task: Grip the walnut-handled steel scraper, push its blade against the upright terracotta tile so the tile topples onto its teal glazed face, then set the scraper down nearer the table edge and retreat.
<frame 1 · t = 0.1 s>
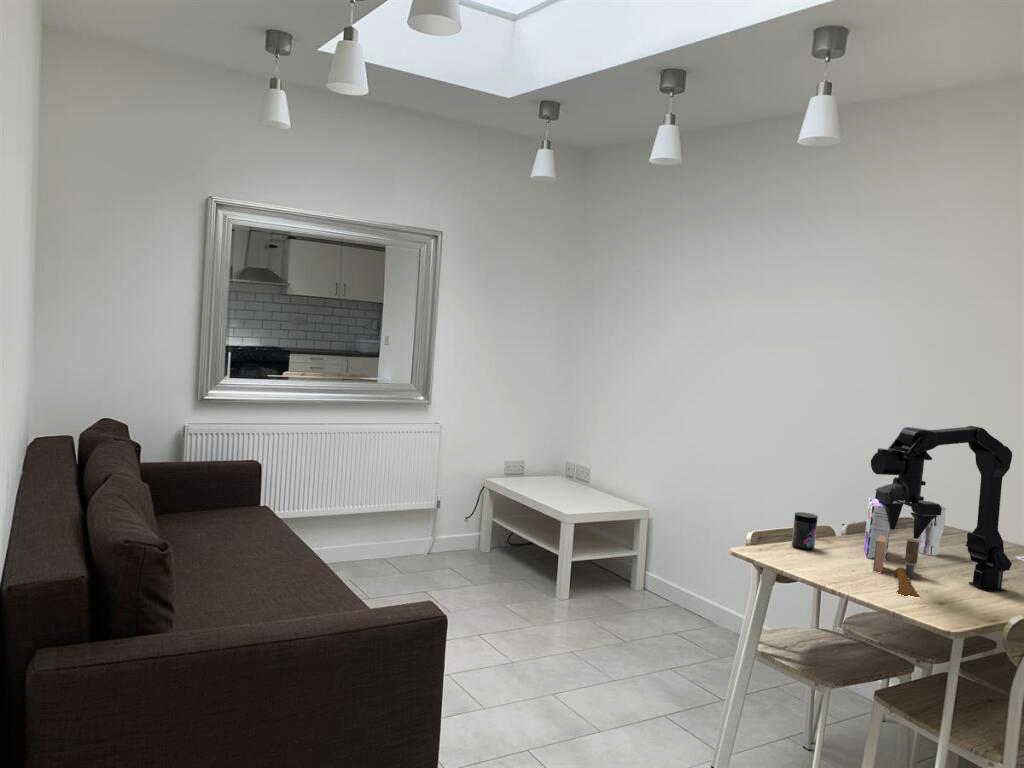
hand: (903, 533, 214), 15 cm above the table, fingers open, 9 cm apart
terracotta tile: (878, 569, 232), on the table
primitive tool: (906, 590, 216), on the table
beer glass: (928, 553, 255), on the table
candy box: (874, 555, 249), on the table
scraper: (909, 575, 228), on the table
supplement container: (802, 548, 250), on the table
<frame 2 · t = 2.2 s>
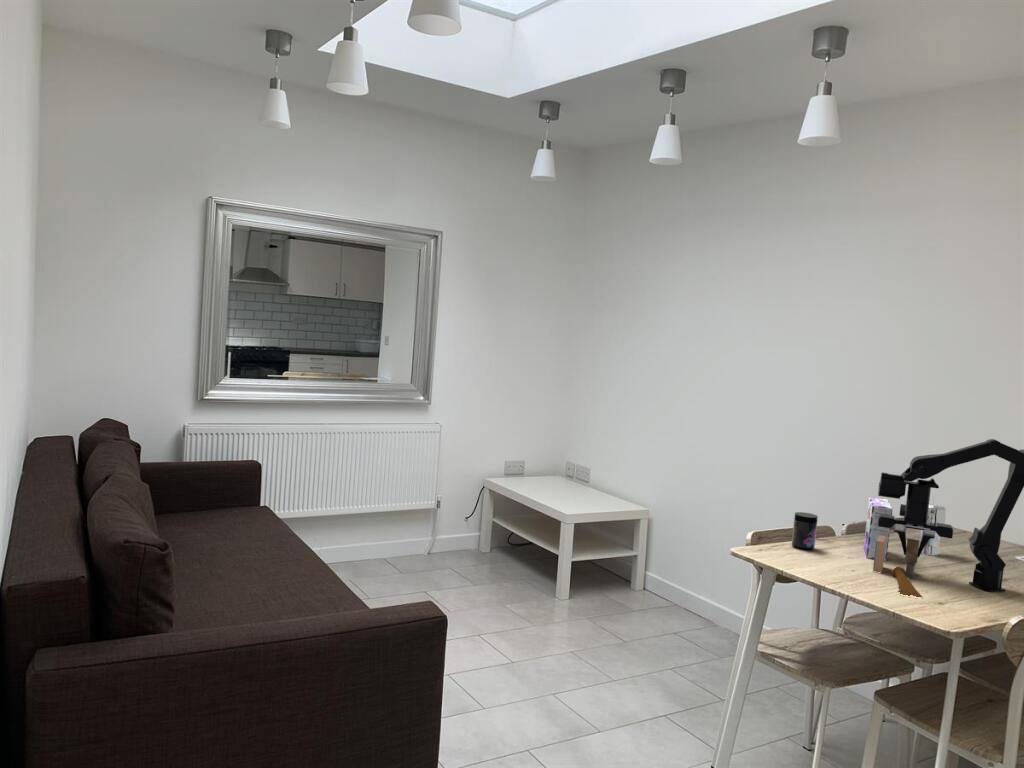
hand: (911, 555, 228), 6 cm above the table, fingers closed on scraper, 3 cm apart
scraper: (909, 575, 228), on the table, touching gripper
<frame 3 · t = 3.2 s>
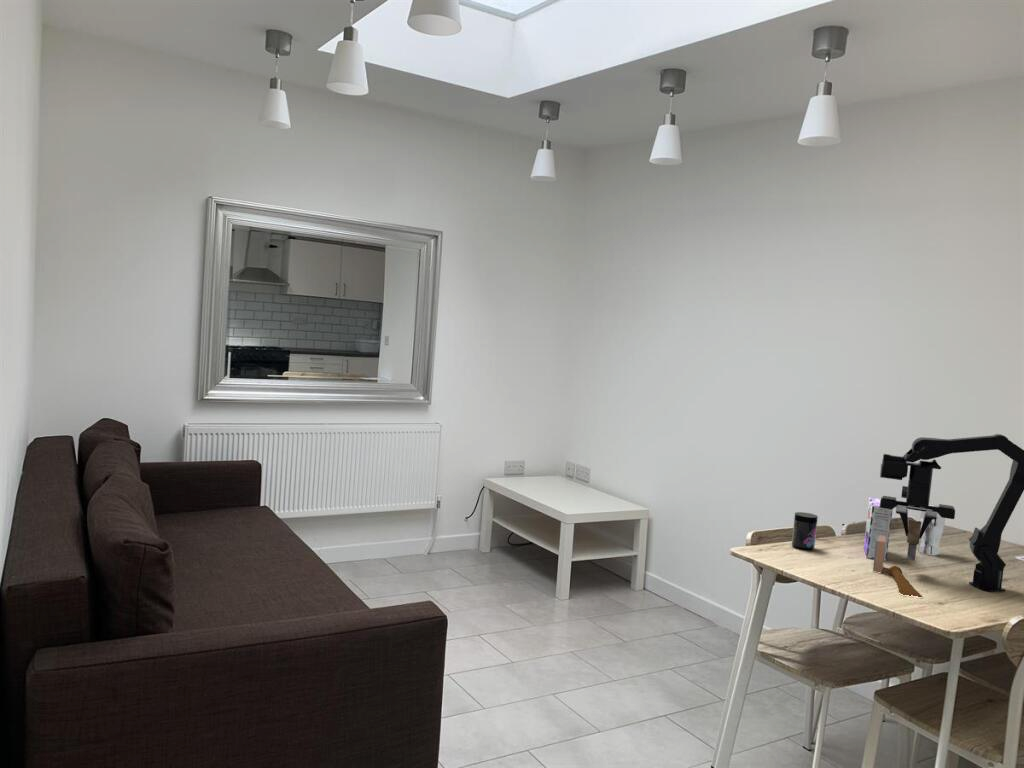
hand: (913, 537, 228), 11 cm above the table, fingers closed on scraper, 3 cm apart
scraper: (911, 556, 228), point 5 cm above the table, touching gripper
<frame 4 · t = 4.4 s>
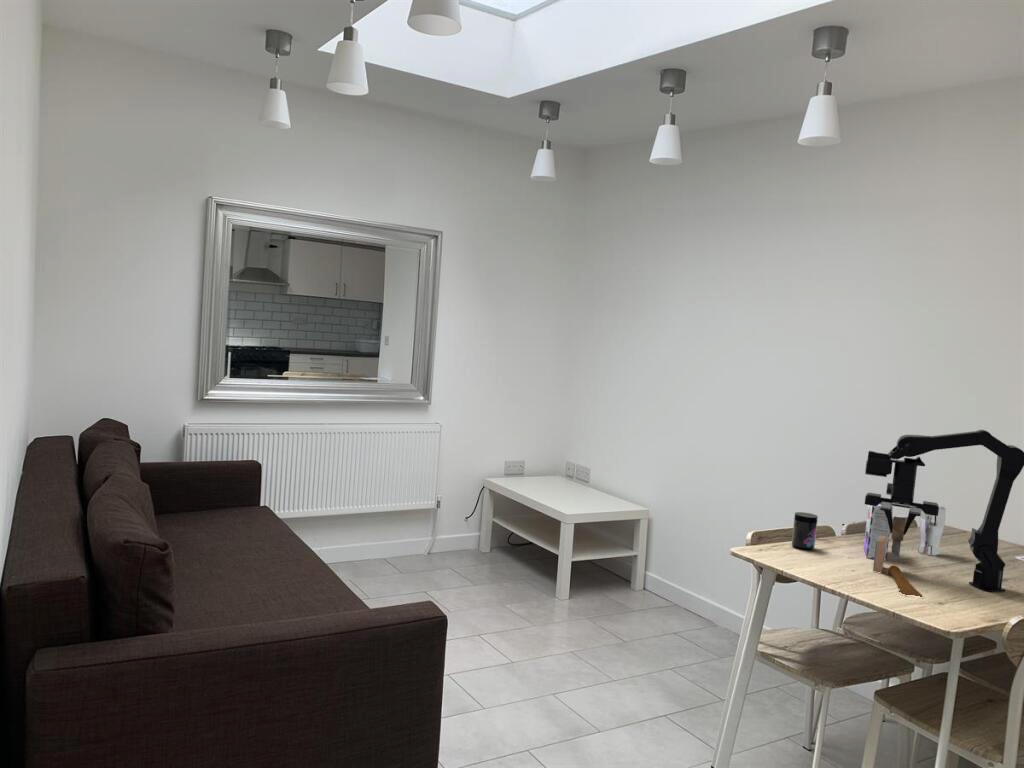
hand: (897, 533, 229), 11 cm above the table, fingers closed on scraper, 3 cm apart
scraper: (895, 552, 230), point 6 cm above the table, touching gripper
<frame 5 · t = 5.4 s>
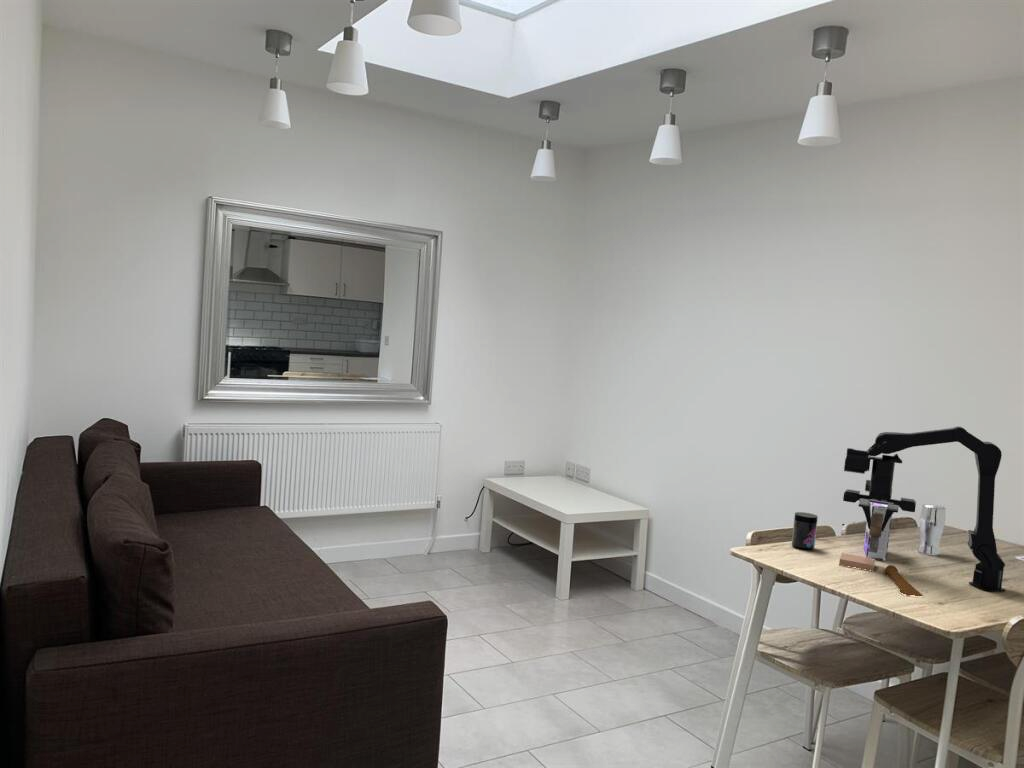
hand: (875, 530, 232), 11 cm above the table, fingers closed on scraper, 3 cm apart
terracotta tile: (874, 565, 232), point 1 cm above the table, tilted 90°
scraper: (873, 548, 232), point 6 cm above the table, touching gripper
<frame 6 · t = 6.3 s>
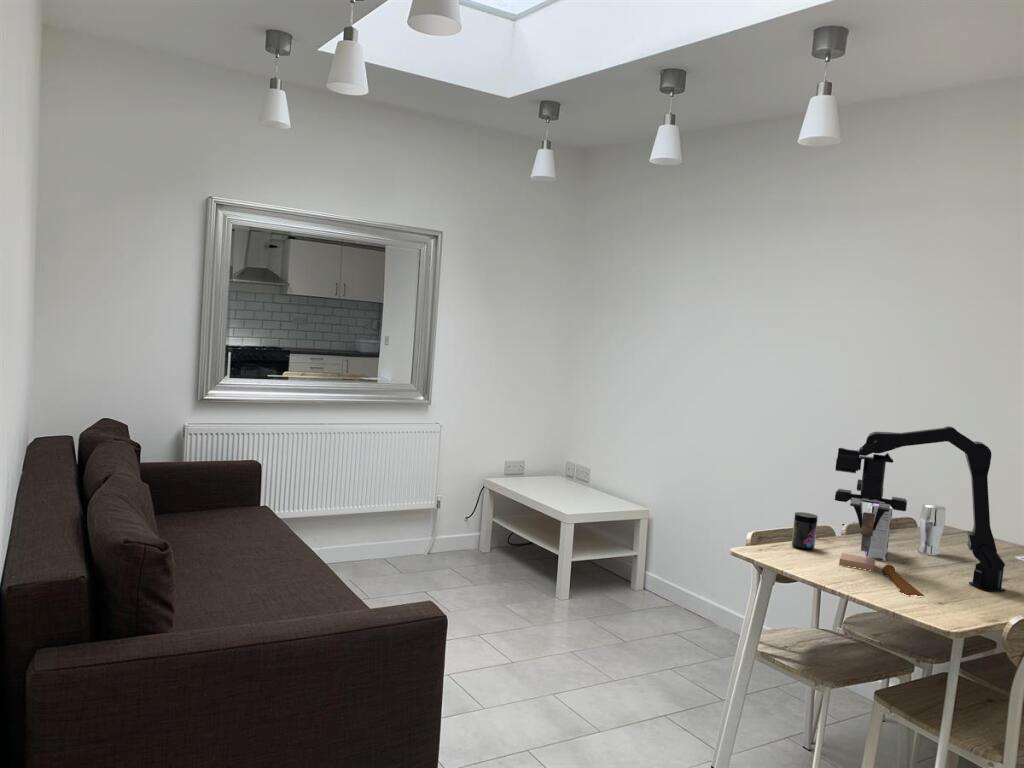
hand: (867, 529, 233), 11 cm above the table, fingers closed on scraper, 3 cm apart
scraper: (865, 548, 233), point 5 cm above the table, touching gripper
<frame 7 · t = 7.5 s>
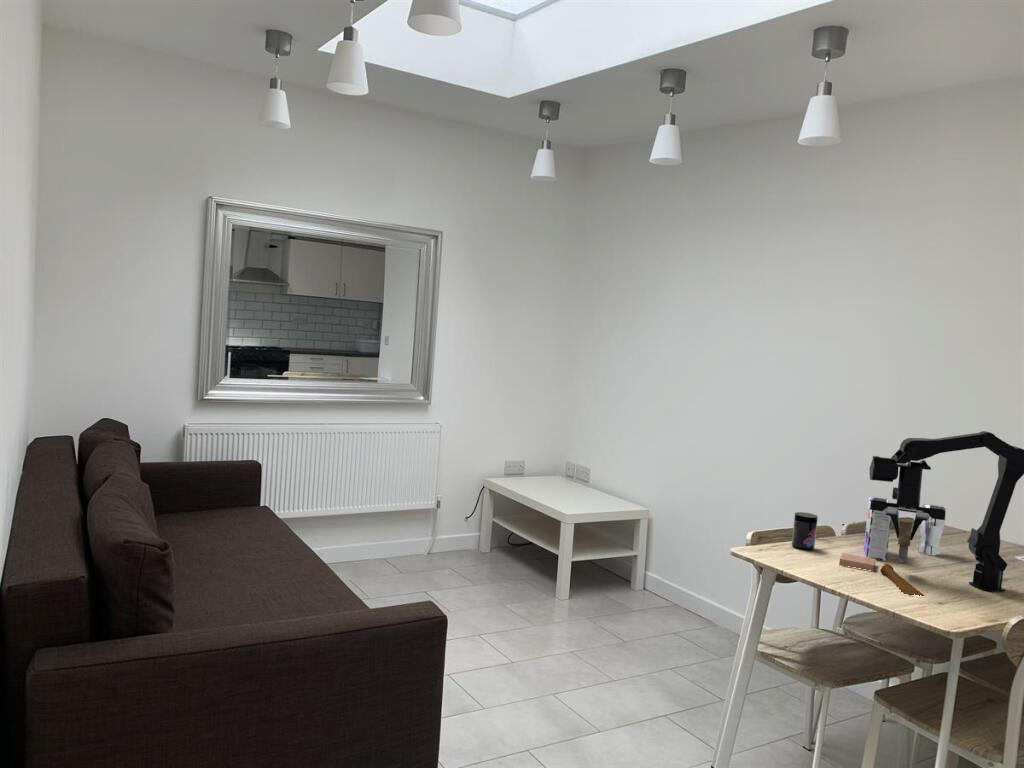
hand: (904, 538, 226), 11 cm above the table, fingers closed on scraper, 3 cm apart
scraper: (902, 558, 226), point 5 cm above the table, touching gripper
when the fingers open (6 cm above the table, at t = 9.0 s): scraper drops 1 cm, on the table.
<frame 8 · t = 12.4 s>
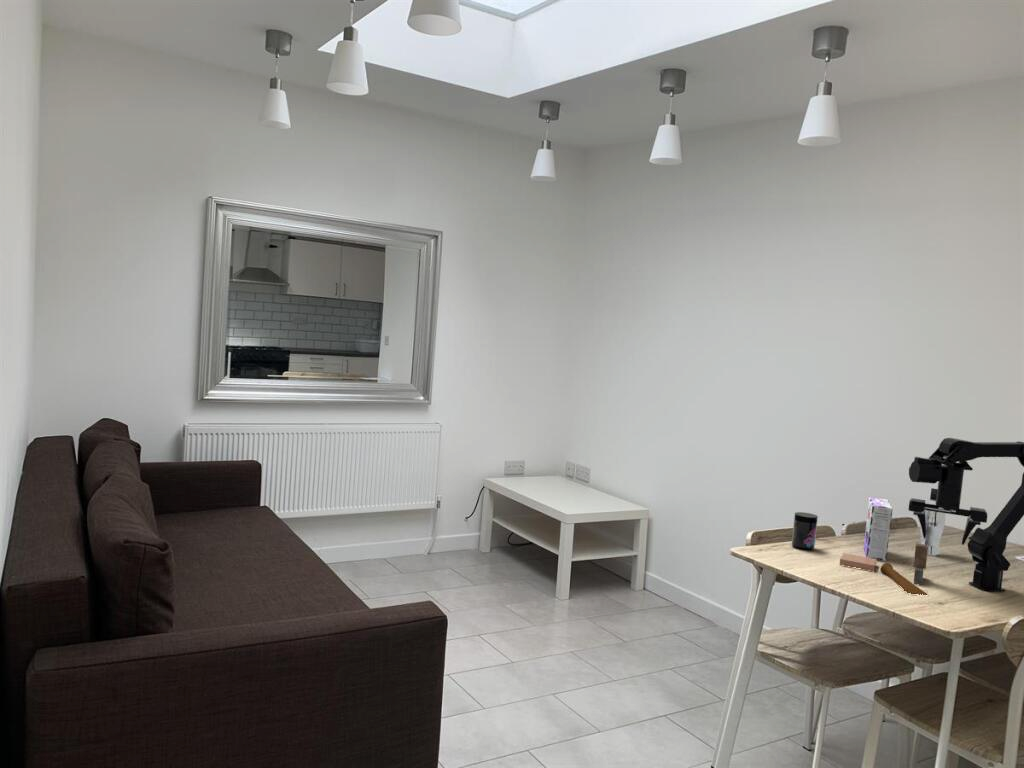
hand: (943, 541, 220), 12 cm above the table, fingers open, 9 cm apart
primitive tool: (903, 586, 219), on the table
scraper: (917, 580, 223), on the table
everything else where it was.
at the end: terracotta tile tilted 90°; the gripper is holding nothing; scraper touching table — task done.
